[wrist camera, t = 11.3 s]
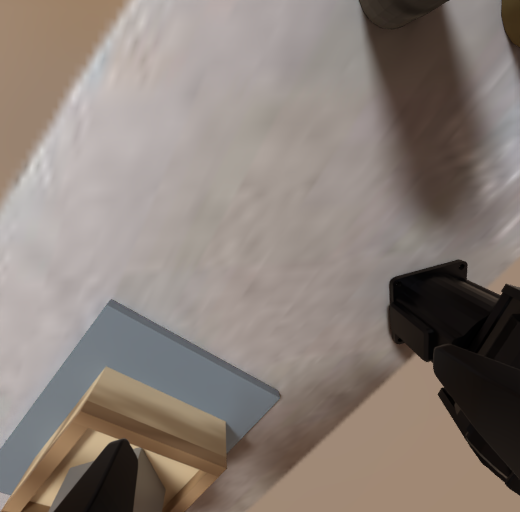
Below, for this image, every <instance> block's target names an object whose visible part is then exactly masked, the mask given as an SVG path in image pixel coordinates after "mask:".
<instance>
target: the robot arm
mask: <svg viewBox="0 0 520 512" xmlns="http://www.w3.org/2000/svg"><path fill="white" fill-rule="evenodd" d="M459 266H460V267H459ZM398 281H399V282H398ZM397 282H398V284H397V285H396V283H397ZM502 292H503V293H502V294H501V295H499V294H497V293H494V292H492V291H490V290H488V289H486V288H484V287H482V286H479V285H477V284H475V283H473V282H471V281H469V280H467V263H466V262H465V261H462V260H455V261H452V262H448V263H444V264H441V265H437V266H433V267H429V268H426V269H422V270H418V271H415V272H411V273H407V274H404V275H400V276H396V277H394V278H392V279H391V281H390V297H391V304H390V322H391V330H392V338H393V340H394V341H395V342H396V343H397V344H402V343H406V344H407V345H408V346H409V347H410V348H411V349H412V350H413V351H414V352H415V353H416V354H417V355H418V356H419V357H420V358H421V359H422V360H424V361H426V362H429V361H431V362H432V363H433V369H434V373H435V375H436V377H437V378H438V379H439V381H440V382H441V383H442V385H443V386H444V388H441V390H440V392H439V393H438V396H439V397H440V399H441V400H442V402H443V404H444V405H445V407H446V409H447V410H448V412H449V413H450V415H451V417H452V418H453V420H454V422H455V423H456V424H457V426H458V428H459V429H460V431H461V433H462V434H463V436H464V438H465V439H466V441H467V442H468V444H469V445H470V447H471V449H472V450H473V451H474V453H475V454H476V456H477V457H478V458H479V460H480V461H481V463H482V464H483V465H485V466H486V467H487V468H489V469H490V470H491V471H492V472H493V473H494V474H495V475H496V476H498V477H499V478H500V479H501V480H503V481H504V482H505V484H506V485H507V487H508V488H509V489H511V490H512V491H514V492H515V493H517V494H518V495H520V288H519V287H516V286H512V285H509V284H505V286H504V288H503V289H502ZM398 338H399V339H398ZM137 474H138V458H137V455H136V454H135V452H134V450H133V448H132V447H131V445H130V443H129V441H128V440H127V439H125V438H122V439H119V440H115V441H112V442H110V443H109V444H108V445H107V446H106V447H105V448H104V449H103V451H102V452H101V453H100V454H99V455H98V457H97V458H96V459H95V460H94V462H93V463H92V464H91V465H90V467H89V468H88V469H87V470H86V472H85V473H84V474H83V475H82V477H81V478H80V479H79V480H78V482H77V483H76V484H75V485H74V486H73V488H72V489H71V490H70V491H69V493H68V494H67V495H66V496H65V498H64V499H63V500H62V501H61V503H60V504H59V505H58V506H57V508H56V509H55V510H54V511H53V512H133V509H134V500H135V492H136V483H137Z"/></svg>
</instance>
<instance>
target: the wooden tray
mask: <svg viewBox="0 0 520 512" xmlns="http://www.w3.org/2000/svg"><path fill="white" fill-rule="evenodd" d="M122 438H125V439H127V440H128V441H129V443H130V445H131V447H132V448H133V449H135V448H139V447H140V448H143V450H144V452H145V453H146V455H147V457H148V459H149V461H150V462H151V464H152V466H153V468H154V470H155V471H156V473H157V475H158V477H159V478H160V480H161V482H162V484H163V486H164V487H165V489H166V491H165V497H164V503H163V509H162V512H185V511H186V510H187V509H188V508H189V507H190V506H191V505H192V504H193V503H194V501H195V500H196V499H197V498H198V497H199V496H200V495H201V494H202V493H203V492H204V491H205V490H206V489H207V488H208V487H209V486H210V485H211V484H212V483H213V482H214V481H215V480H216V479H217V478H218V477H219V476H220V475H221V474H222V473H223V472H224V471H225V470H226V469H227V461H226V421H224V420H221V419H219V418H217V417H215V416H213V415H211V414H208V413H206V412H204V411H202V410H200V409H198V408H195V407H193V406H191V405H189V404H187V403H185V402H182V401H180V400H178V399H176V398H174V397H172V396H169V395H167V394H165V393H163V392H161V391H159V390H156V389H154V388H152V387H150V386H148V385H146V384H143V383H141V382H139V381H137V380H135V379H133V378H130V377H128V376H126V375H124V374H122V373H120V372H117V371H115V370H113V369H111V368H109V367H107V366H106V367H105V368H104V369H103V371H102V372H101V373H100V375H99V376H98V377H97V378H96V380H95V381H94V382H93V384H92V385H91V386H90V388H89V389H88V390H87V391H86V393H85V394H84V395H83V397H82V398H81V399H80V400H79V402H78V403H77V404H76V406H75V407H74V408H73V409H72V411H71V412H70V413H69V415H68V416H67V417H66V418H65V420H64V421H63V422H62V424H61V425H60V426H59V427H58V429H57V430H56V431H55V433H54V434H53V435H52V436H51V438H50V439H49V440H48V442H47V443H46V444H45V446H44V447H43V448H42V449H41V451H40V452H39V453H38V455H37V456H36V457H35V458H34V460H33V461H32V463H31V464H30V466H29V468H28V469H27V471H26V472H25V474H24V475H23V477H22V479H21V480H20V482H19V483H18V485H17V487H16V488H15V490H14V491H13V493H12V494H11V496H10V498H9V499H8V501H7V502H6V504H5V506H4V507H3V509H2V510H1V512H48V511H49V509H50V507H51V505H52V503H53V501H54V499H55V497H56V495H57V493H58V491H59V489H60V487H61V485H62V483H63V481H64V479H65V477H66V475H67V473H68V471H69V469H70V468H71V467H75V466H78V465H81V464H85V463H88V462H92V461H94V460H95V459H96V458H97V457H98V455H99V454H100V453H101V452H102V451H103V449H104V448H105V447H106V446H107V445H108V444H109V443H110V442H112V441H115V440H119V439H122Z"/></svg>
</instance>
